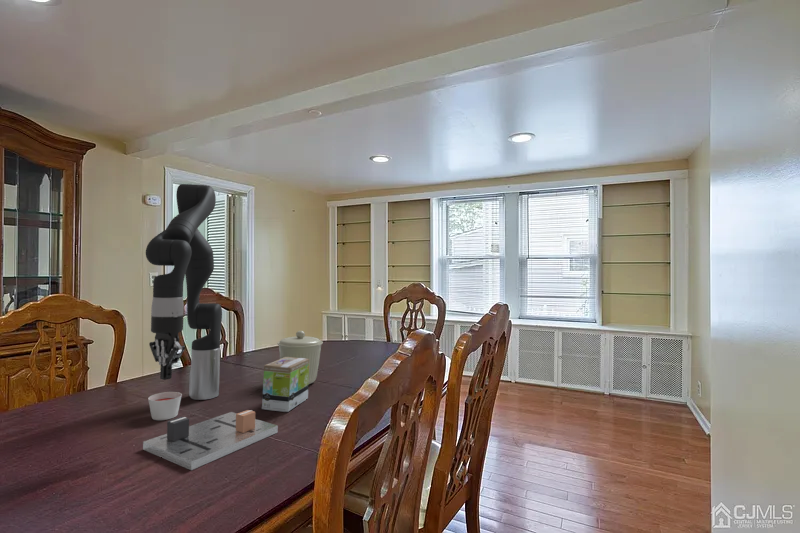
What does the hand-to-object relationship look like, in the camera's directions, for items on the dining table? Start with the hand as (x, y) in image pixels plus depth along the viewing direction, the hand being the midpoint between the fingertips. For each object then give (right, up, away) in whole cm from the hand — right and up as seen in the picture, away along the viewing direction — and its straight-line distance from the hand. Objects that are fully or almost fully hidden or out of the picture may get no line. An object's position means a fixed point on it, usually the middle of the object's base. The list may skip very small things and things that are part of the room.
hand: (165, 378), depth 110 cm
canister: (+21, -18, +58) cm, 64 cm away
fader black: (+5, -14, -3) cm, 16 cm away
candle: (-10, -17, +17) cm, 26 cm away
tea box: (+23, -17, +31) cm, 43 cm away
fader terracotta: (+20, -15, +3) cm, 25 cm away
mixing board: (+13, -17, 0) cm, 21 cm away
